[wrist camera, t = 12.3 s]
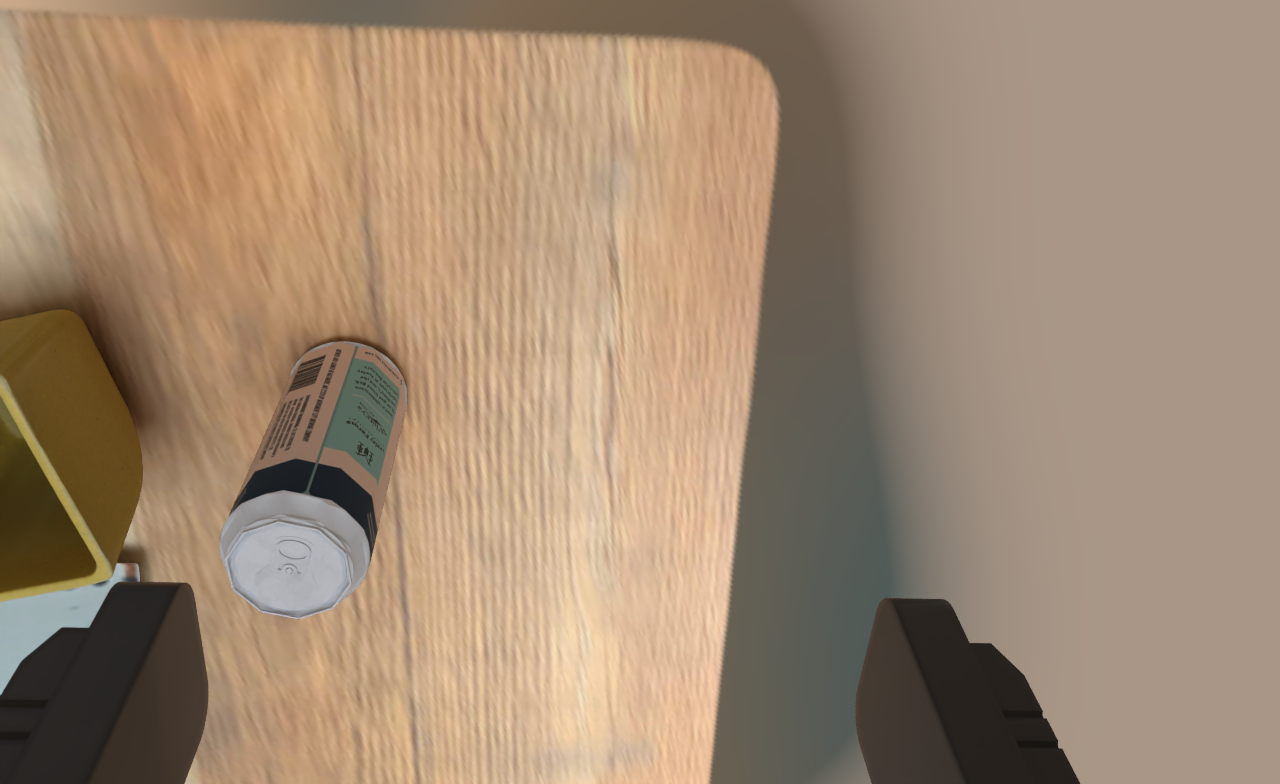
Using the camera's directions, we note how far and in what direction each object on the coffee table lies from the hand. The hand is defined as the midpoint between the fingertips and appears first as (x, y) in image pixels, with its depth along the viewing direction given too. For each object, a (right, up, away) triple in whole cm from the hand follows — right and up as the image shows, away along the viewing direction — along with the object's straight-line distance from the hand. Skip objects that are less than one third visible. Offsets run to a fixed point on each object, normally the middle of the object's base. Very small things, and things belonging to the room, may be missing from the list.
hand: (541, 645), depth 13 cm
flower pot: (-23, +4, +31) cm, 39 cm away
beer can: (-11, +3, +32) cm, 34 cm away
